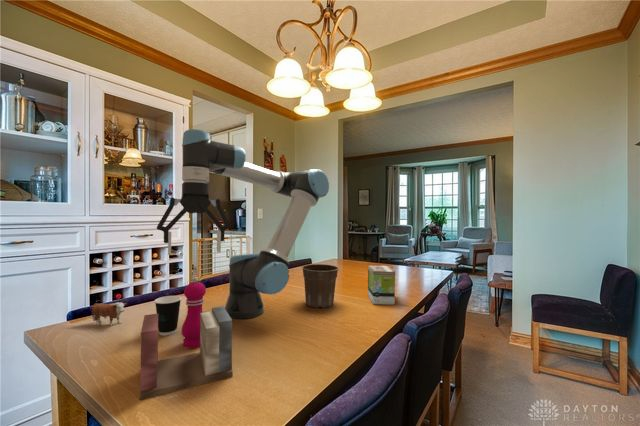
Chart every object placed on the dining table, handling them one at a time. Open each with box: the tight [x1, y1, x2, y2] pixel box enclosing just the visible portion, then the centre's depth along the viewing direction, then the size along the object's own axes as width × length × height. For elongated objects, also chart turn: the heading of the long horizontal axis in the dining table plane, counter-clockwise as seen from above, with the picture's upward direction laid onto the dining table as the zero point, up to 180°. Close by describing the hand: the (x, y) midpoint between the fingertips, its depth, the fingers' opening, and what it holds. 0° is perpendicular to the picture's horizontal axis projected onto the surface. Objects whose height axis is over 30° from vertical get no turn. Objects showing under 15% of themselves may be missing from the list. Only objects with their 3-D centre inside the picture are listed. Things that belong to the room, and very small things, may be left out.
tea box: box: [367, 265, 396, 305], centre depth 133 cm, size 15×10×15 cm, turn 179°
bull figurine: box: [91, 301, 128, 327], centre depth 101 cm, size 4×13×8 cm, turn 79°
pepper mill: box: [181, 276, 207, 349], centre depth 87 cm, size 7×7×20 cm
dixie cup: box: [154, 295, 182, 336], centre depth 95 cm, size 8×8×11 cm
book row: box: [139, 305, 234, 401], centre depth 71 cm, size 19×14×14 cm
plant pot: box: [301, 263, 340, 309], centre depth 126 cm, size 16×16×16 cm
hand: (195, 253), depth 87 cm, fingers open, 13 cm apart
